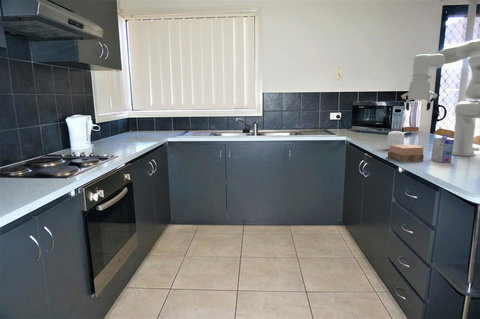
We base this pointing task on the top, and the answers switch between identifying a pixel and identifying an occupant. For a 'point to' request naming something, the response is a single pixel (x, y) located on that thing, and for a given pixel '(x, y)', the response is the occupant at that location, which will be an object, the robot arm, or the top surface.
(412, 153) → the tower top
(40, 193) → the top surface
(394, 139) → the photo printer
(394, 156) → the tower base
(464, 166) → the top surface
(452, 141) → the ink cartridge box
